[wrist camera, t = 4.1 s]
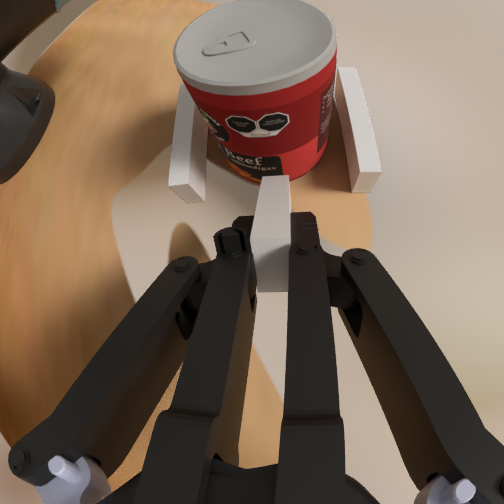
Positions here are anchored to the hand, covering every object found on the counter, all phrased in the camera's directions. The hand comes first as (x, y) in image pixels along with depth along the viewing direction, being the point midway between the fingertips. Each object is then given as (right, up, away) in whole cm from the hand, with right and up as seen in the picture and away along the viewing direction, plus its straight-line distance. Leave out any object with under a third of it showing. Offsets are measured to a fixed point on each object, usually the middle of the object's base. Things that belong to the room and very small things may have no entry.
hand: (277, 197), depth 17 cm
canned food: (0, +5, +5) cm, 7 cm away
